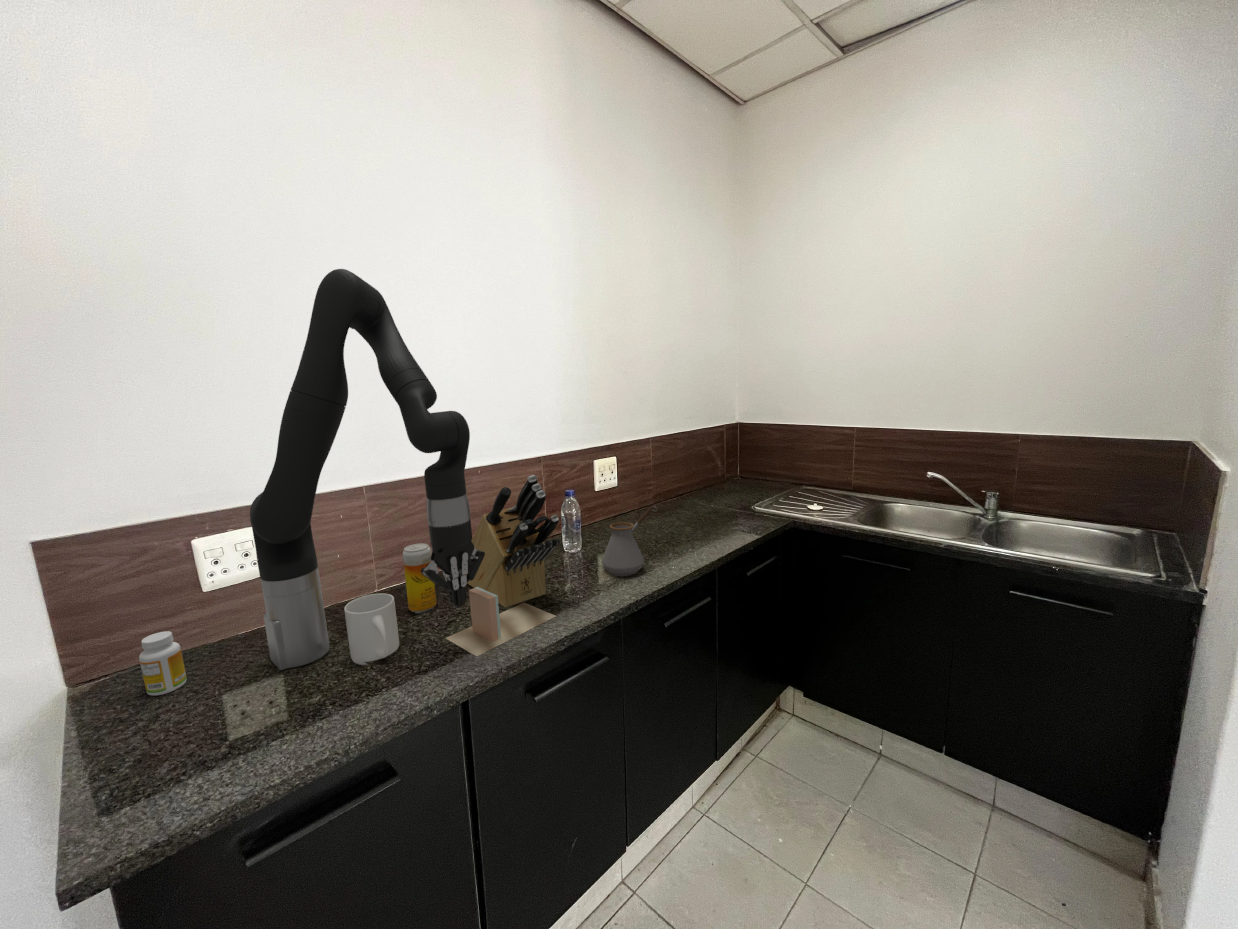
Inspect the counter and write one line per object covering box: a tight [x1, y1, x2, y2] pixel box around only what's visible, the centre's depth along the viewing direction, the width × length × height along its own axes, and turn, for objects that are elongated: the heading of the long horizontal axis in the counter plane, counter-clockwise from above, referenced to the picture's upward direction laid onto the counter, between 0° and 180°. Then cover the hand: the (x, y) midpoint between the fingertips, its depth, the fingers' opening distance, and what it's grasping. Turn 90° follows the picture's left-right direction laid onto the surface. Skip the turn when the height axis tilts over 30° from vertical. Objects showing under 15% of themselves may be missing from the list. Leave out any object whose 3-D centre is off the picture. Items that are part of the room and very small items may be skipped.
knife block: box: [467, 474, 560, 608], centre depth 120 cm, size 11×35×31 cm, turn 40°
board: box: [445, 602, 557, 657], centre depth 104 cm, size 20×11×1 cm, turn 139°
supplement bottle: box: [138, 630, 187, 696], centre depth 88 cm, size 5×5×10 cm
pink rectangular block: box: [468, 587, 501, 642], centre depth 100 cm, size 2×7×9 cm, turn 49°
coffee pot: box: [601, 504, 658, 577], centre depth 137 cm, size 21×12×15 cm, turn 142°
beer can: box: [402, 543, 437, 614], centre depth 115 cm, size 6×6×15 cm
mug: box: [343, 592, 400, 666], centre depth 95 cm, size 9×12×11 cm
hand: (458, 605), depth 96 cm, fingers closed
